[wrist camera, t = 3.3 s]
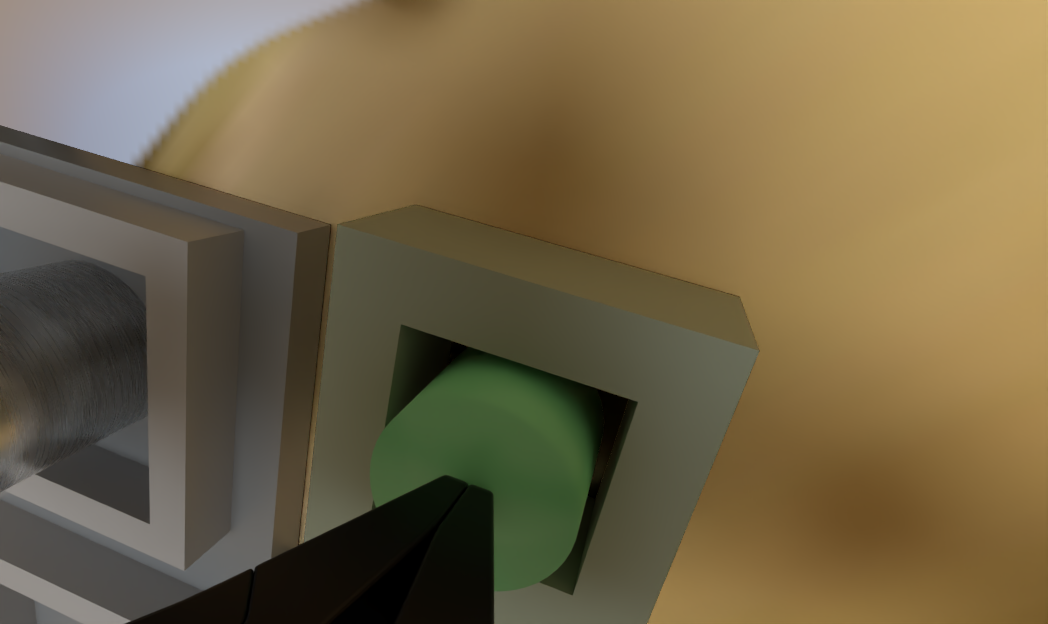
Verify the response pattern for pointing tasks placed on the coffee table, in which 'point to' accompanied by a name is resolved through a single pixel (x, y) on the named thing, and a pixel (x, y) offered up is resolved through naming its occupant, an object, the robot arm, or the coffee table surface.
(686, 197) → the coffee table surface
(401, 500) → the robot arm
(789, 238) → the coffee table surface
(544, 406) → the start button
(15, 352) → the seated billet
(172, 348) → the grey flat frame
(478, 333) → the square socket block
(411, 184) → the coffee table surface
